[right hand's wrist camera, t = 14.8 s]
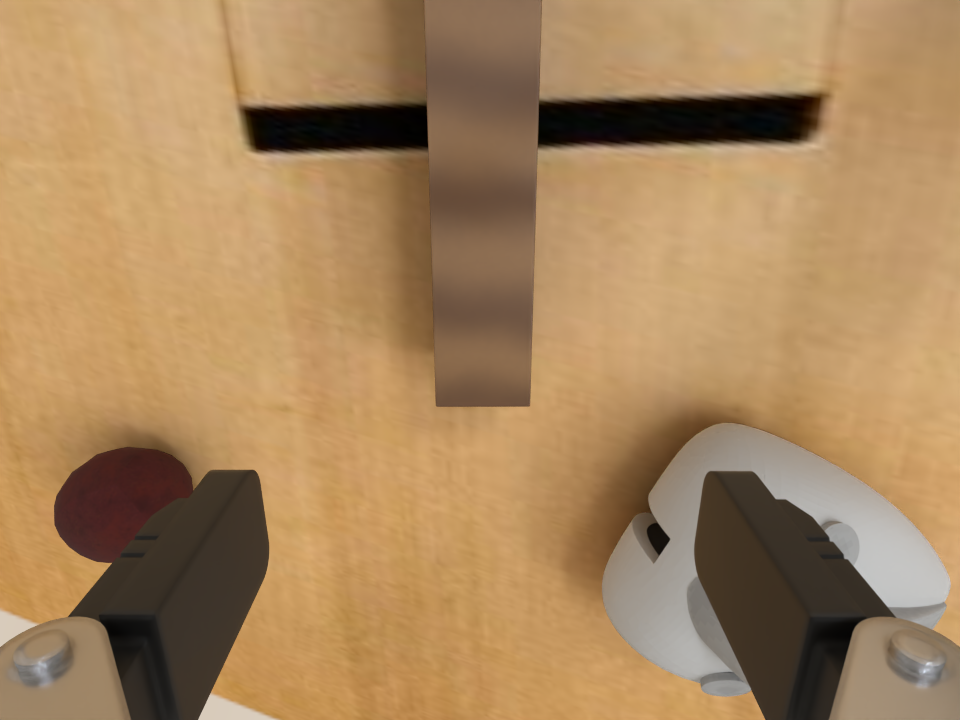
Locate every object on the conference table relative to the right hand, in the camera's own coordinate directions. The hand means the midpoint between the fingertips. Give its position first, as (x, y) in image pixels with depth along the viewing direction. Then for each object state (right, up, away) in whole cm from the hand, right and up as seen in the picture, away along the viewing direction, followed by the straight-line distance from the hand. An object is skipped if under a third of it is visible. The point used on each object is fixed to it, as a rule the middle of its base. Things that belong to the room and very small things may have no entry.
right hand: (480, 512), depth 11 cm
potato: (-22, -5, +32) cm, 39 cm away
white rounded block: (+21, -10, +34) cm, 41 cm away
